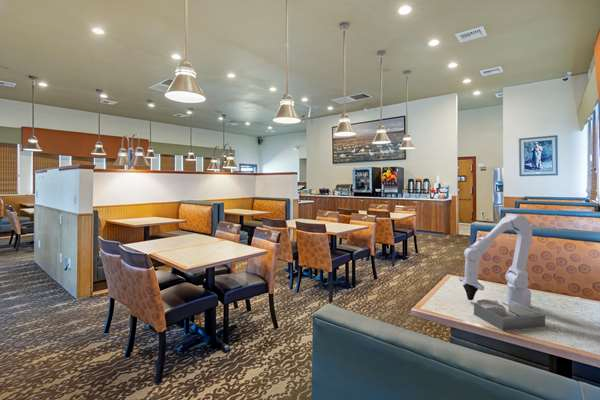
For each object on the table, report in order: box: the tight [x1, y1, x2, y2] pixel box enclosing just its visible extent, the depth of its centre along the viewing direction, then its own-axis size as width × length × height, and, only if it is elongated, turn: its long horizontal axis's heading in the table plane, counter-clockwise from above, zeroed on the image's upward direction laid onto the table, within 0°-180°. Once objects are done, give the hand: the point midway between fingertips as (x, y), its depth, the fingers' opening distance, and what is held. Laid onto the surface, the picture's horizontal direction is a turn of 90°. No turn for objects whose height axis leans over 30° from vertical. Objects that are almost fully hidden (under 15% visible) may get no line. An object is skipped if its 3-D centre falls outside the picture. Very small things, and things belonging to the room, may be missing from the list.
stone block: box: [476, 299, 507, 317], centre depth 142 cm, size 12×5×10 cm
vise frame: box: [473, 303, 546, 331], centre depth 132 cm, size 20×16×4 cm
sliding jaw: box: [508, 301, 540, 316], centre depth 135 cm, size 2×13×4 cm, turn 11°
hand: (470, 299), depth 152 cm, fingers closed
